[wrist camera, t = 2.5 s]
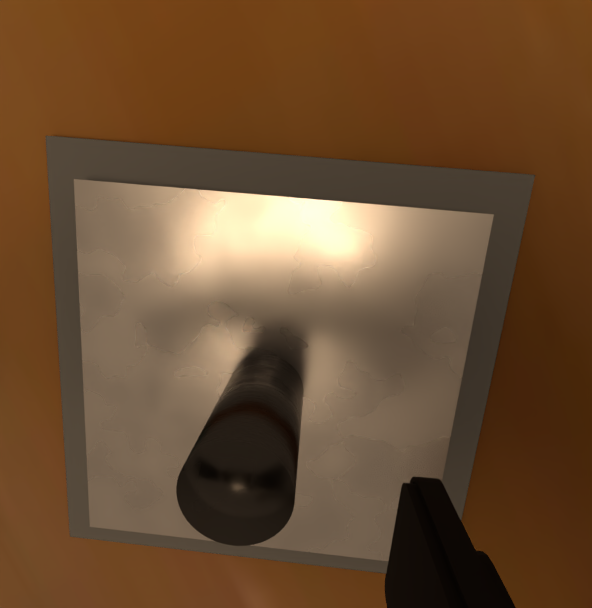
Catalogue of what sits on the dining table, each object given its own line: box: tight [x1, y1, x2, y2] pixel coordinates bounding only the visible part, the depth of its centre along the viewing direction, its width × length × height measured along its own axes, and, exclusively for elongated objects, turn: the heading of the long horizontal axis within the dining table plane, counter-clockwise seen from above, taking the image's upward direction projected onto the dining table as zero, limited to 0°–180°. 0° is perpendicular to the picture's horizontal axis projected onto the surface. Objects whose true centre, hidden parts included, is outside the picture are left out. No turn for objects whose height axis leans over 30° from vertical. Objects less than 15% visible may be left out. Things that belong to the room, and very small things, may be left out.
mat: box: [46, 136, 535, 573], centre depth 17 cm, size 18×18×1 cm
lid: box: [74, 179, 494, 561], centre depth 13 cm, size 15×15×7 cm
